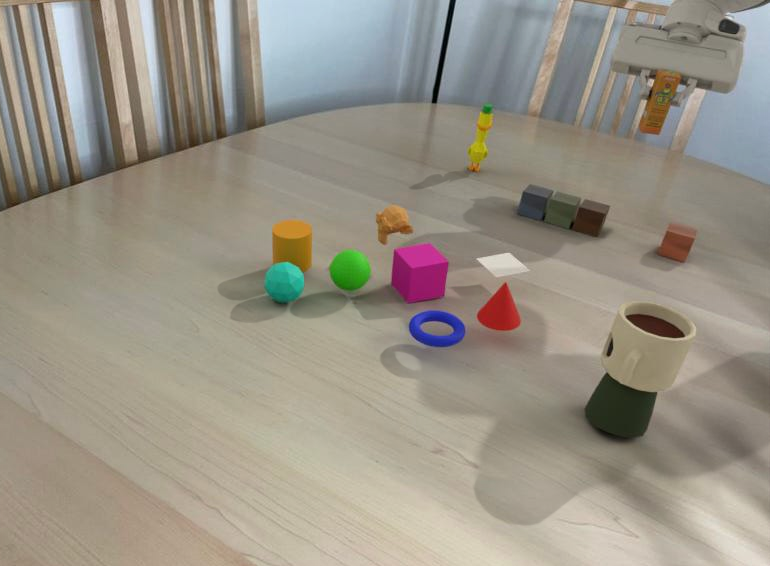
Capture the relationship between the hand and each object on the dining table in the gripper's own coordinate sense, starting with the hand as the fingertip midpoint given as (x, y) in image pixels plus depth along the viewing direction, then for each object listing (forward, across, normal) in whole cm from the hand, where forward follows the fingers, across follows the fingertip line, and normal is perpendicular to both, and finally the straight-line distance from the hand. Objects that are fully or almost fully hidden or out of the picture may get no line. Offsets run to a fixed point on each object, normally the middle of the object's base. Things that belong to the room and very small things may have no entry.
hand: (659, 101), depth 125 cm
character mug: (+61, +11, -38) cm, 73 cm away
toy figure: (+18, -26, +5) cm, 32 cm away
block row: (+27, 0, -4) cm, 27 cm away
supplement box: (+4, 0, +4) cm, 6 cm away
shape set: (+55, -18, -32) cm, 66 cm away
